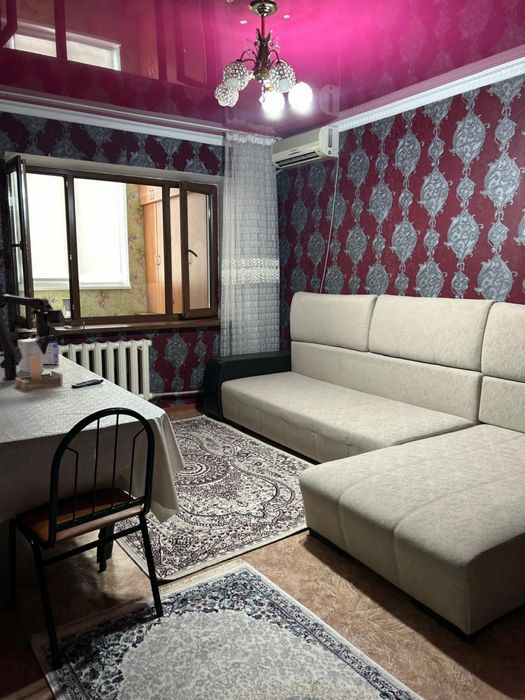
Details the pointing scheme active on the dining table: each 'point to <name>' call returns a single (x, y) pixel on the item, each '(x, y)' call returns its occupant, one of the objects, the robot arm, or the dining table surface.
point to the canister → (35, 368)
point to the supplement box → (29, 353)
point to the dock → (37, 382)
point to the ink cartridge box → (51, 354)
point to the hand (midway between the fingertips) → (44, 354)
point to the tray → (53, 375)
